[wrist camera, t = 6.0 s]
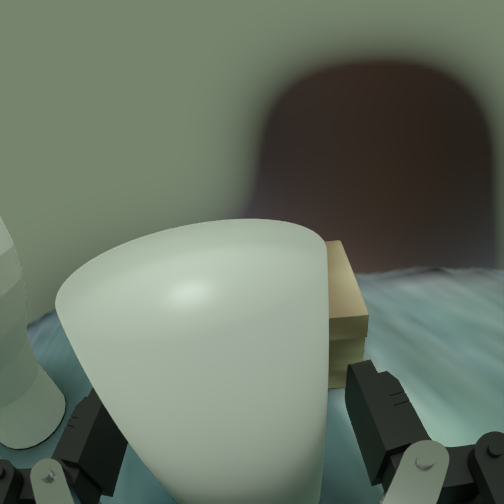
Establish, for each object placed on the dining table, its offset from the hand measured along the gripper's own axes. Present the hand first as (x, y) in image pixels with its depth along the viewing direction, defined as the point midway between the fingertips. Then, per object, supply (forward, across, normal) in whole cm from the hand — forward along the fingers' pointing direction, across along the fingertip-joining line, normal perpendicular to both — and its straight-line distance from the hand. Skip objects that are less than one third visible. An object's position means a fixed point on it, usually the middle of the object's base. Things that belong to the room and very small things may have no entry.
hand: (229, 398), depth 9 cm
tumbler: (-1, 0, +8) cm, 8 cm away
